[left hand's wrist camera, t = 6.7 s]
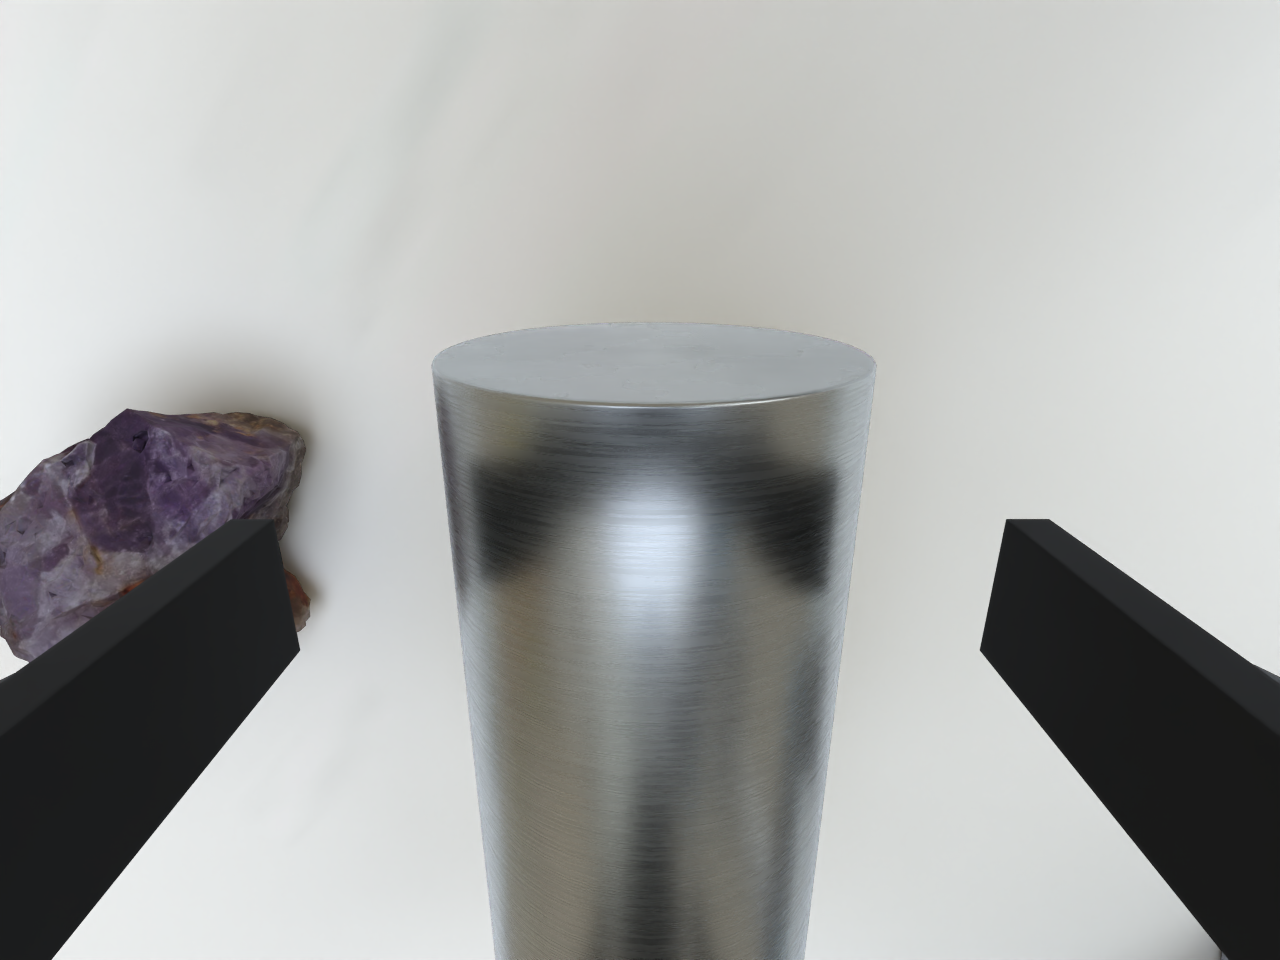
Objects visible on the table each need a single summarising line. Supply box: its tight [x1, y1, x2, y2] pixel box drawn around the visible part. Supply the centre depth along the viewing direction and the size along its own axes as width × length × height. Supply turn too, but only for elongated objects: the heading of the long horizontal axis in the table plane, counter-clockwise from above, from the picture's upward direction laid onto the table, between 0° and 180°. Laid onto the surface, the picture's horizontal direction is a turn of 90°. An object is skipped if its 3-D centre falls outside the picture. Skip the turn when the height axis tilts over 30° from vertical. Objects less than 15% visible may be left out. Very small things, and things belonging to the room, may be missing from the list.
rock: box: [0, 409, 310, 663], centre depth 27 cm, size 12×9×10 cm
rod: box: [432, 322, 877, 960], centre depth 17 cm, size 27×8×8 cm, turn 0°
